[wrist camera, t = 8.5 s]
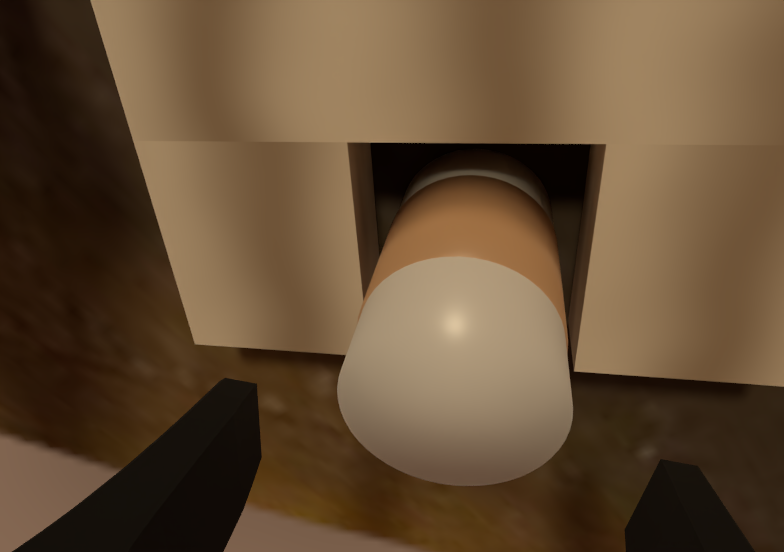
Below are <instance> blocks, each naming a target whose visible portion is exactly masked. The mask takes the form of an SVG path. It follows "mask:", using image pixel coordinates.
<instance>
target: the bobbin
mask: <svg viewBox="0 0 784 552" xmlns="http://www.w3.org/2000/svg"><path fill="white" fill-rule="evenodd" d="M567 353H568V334H567V325H566V316H565V307H564V298H563V289H562V280H561V272H560V263H559V254H558V245H557V238H556V234H555V230H554V225H553V216H552V208H551V202H550V199H549V196H548V193H547V191H546V189H545V187H544V185H543V184H542V182H541V181H540V179H539V178H538V177H537V176H536V174H535V173H534V172H533V171H532V170H531V169H530V168H528V167H527V166H526V165H525V164H523V163H522V162H520V161H519V160H517V159H515V158H513V157H511V156H509V155H507V154H504V153H501V152H498V151H493V150H488V149H463V150H458V151H453V152H450V153H447V154H444V155H442V156H440V157H438V158H436V159H434V160H433V161H431V162H430V163H428V164H427V165H426V166H424V167H423V168H422V169H421V170H420V171H419V172H418V173H417V174H416V175H415V176H414V178H413V179H412V181H411V182H410V184H409V185H408V187H407V189H406V192H405V194H404V197H403V200H402V202H401V205H400V208H399V211H398V212H397V214H396V216H395V218H394V220H393V222H392V225H391V227H390V230H389V233H388V235H387V238H386V241H385V244H384V246H383V249H382V252H381V255H380V257H379V260H378V263H377V265H376V268H375V271H374V274H373V276H372V279H371V282H370V284H369V287H368V290H367V293H366V295H365V298H364V301H363V304H362V306H361V309H360V313H359V316H358V322H357V327H356V329H355V332H354V335H353V338H352V341H351V343H350V346H349V349H348V352H347V354H346V357H345V360H344V363H343V365H342V368H341V372H340V375H339V378H338V387H337V393H338V402H339V406H340V410H341V413H342V415H343V418H344V420H345V422H346V424H347V426H348V427H349V429H350V431H351V432H352V433H353V435H354V436H355V437H356V438H357V440H358V441H359V442H360V443H361V444H362V445H363V446H364V447H365V448H366V449H367V450H368V451H370V452H371V453H372V454H373V455H375V456H376V457H377V458H379V459H380V460H382V461H383V462H385V463H386V464H388V465H390V466H392V467H394V468H395V469H397V470H399V471H402V472H404V473H406V474H409V475H411V476H414V477H417V478H420V479H423V480H427V481H431V482H435V483H441V484H447V485H457V486H481V485H490V484H496V483H501V482H506V481H509V480H512V479H515V478H519V477H521V476H523V475H525V474H528V473H530V472H532V471H533V470H535V469H537V468H539V467H540V466H542V465H543V464H544V463H546V462H547V461H548V460H549V459H551V458H552V456H553V455H554V454H555V453H556V452H557V451H558V450H559V449H560V447H561V446H562V444H563V443H564V441H565V440H566V437H567V435H568V433H569V431H570V427H571V423H572V418H573V403H572V394H571V384H570V375H569V366H568V356H567Z"/></svg>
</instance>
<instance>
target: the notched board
mask: <svg viewBox="0 0 784 552" xmlns="http://www.w3.org/2000/svg"><path fill="white" fill-rule="evenodd" d="M91 3H92V7H93V10H94V13H95V16H96V20H97V23H98V26H99V30H100V33H101V36H102V39H103V43H104V46H105V49H106V53H107V56H108V59H109V62H110V66H111V69H112V72H113V76H114V79H115V82H116V85H117V89H118V92H119V95H120V99H121V102H122V105H123V109H124V112H125V115H126V118H127V122H128V125H129V128H130V132H131V135H132V138H133V141H134V145H135V148H136V151H137V155H138V158H139V161H140V164H141V168H142V171H143V174H144V178H145V181H146V184H147V188H148V191H149V194H150V197H151V201H152V204H153V207H154V211H155V214H156V217H157V220H158V224H159V227H160V230H161V234H162V237H163V240H164V243H165V247H166V250H167V253H168V257H169V260H170V263H171V266H172V270H173V273H174V276H175V280H176V283H177V286H178V290H179V293H180V296H181V299H182V303H183V306H184V309H185V313H186V316H187V319H188V322H189V326H190V329H191V332H192V336H193V339H194V342H195V344H200V345H214V346H228V347H242V348H256V349H269V350H283V351H297V352H311V353H325V354H339V355H346V354H347V352H348V349H349V346H350V343H351V341H352V338H353V335H354V332H355V329H356V327H357V322H358V316H359V313H360V309H361V306H362V304H363V301H364V298H365V295H366V293H367V290H368V287H369V284H370V282H371V279H372V276H373V274H374V271H375V268H376V265H377V263H378V260H379V245H378V232H377V220H376V207H375V195H374V182H373V170H372V158H371V145H370V143H510V144H591V145H590V153H589V161H588V169H587V176H586V184H585V192H584V200H583V208H582V216H581V223H580V231H579V239H578V247H577V255H576V263H575V270H574V278H573V286H572V294H571V302H570V309H569V317H568V324H569V332H570V341H571V350H572V358H573V367H574V371H576V372H590V373H604V374H617V375H631V376H645V377H659V378H673V379H687V380H701V381H715V382H729V383H743V384H757V385H771V386H784V0H91Z"/></svg>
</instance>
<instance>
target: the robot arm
mask: <svg viewBox="0 0 784 552" xmlns="http://www.w3.org/2000/svg"><path fill="white" fill-rule="evenodd" d="M260 460H261V442H260V426H259V411H258V396H257V384H255V383H250V382H244V381H239V380H233V379H228V378H224V379H223V380H221V381H220V382H218V383H217V384H216V385H215V386H214V387H213V388H212V389H211V390H210V391H209V392H208V393H207V394H206V395H205V396H204V397H203V398H202V399H201V400H199V401H198V402H197V403H196V404H195V405H194V406H193V407H192V408H191V409H190V410H189V411H188V412H187V413H186V414H184V415H183V416H182V417H181V418H180V419H179V420H178V421H177V422H176V423H175V424H174V425H172V426H171V427H170V428H169V429H168V430H167V431H166V432H165V433H164V434H162V435H161V436H160V437H159V438H158V439H157V440H156V441H154V442H153V443H152V444H151V445H150V446H149V447H148V448H146V449H145V450H144V451H143V452H142V453H141V454H139V455H138V456H137V457H136V458H135V459H134V460H133V461H131V462H130V463H129V464H128V465H127V466H125V467H124V468H123V469H122V470H121V471H119V472H118V473H117V474H116V475H114V476H113V477H112V478H111V479H109V480H108V481H107V482H106V483H104V484H103V485H102V486H101V487H99V488H98V489H97V490H96V491H94V492H93V493H92V494H91V495H90V496H88V497H87V498H86V499H84V500H83V501H82V502H81V503H79V504H78V505H77V506H75V507H74V508H73V509H71V510H70V511H69V512H67V513H66V514H65V515H63V516H62V517H61V518H59V519H58V520H57V521H55V522H54V523H52V524H51V525H50V526H48V527H47V528H45V529H44V530H43V531H42V532H40V533H38V534H37V535H36V536H34V537H33V538H31V539H30V540H29V541H27V542H25V543H24V544H23V545H21V546H20V547H18V548H17V549H15V550H14V551H12V552H223V551H224V549H225V547H226V545H227V543H228V541H229V539H230V537H231V535H232V532H233V530H234V528H235V526H236V524H237V522H238V520H239V518H240V516H241V513H242V511H243V509H244V506H245V503H246V501H247V498H248V495H249V492H250V490H251V487H252V484H253V481H254V478H255V475H256V472H257V469H258V466H259V463H260ZM625 542H626V552H755V551H754V549H753V548H752V546H751V545H750V543H749V542H748V540H747V539H746V537H745V536H744V534H743V533H742V532H741V530H740V529H739V527H738V526H737V524H736V523H735V521H734V520H733V518H732V517H731V515H730V514H729V512H728V511H727V509H726V508H725V506H724V505H723V503H722V502H721V500H720V499H719V497H718V496H717V494H716V493H715V491H714V490H713V488H712V487H711V485H710V484H709V482H708V481H707V479H706V478H705V476H704V475H703V473H702V472H701V470H700V469H699V467H698V466H694V465H689V464H684V463H678V462H673V461H668V460H662V459H661V460H660V462H659V464H658V466H657V468H656V470H655V471H654V473H653V475H652V477H651V479H650V481H649V483H648V485H647V487H646V489H645V491H644V493H643V495H642V497H641V499H640V501H639V503H638V505H637V507H636V509H635V511H634V513H633V515H632V517H631V519H630V520H629V522H628V524H627V526H626V528H625Z"/></svg>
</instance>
